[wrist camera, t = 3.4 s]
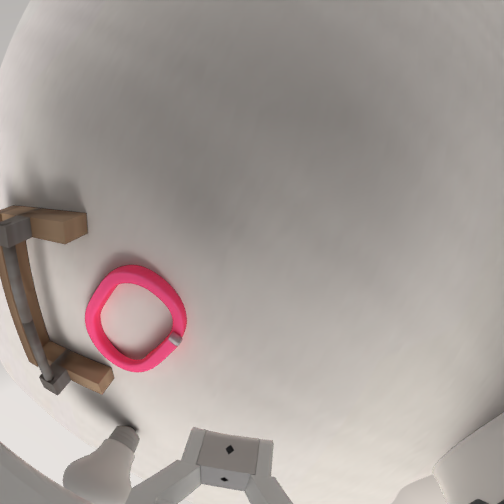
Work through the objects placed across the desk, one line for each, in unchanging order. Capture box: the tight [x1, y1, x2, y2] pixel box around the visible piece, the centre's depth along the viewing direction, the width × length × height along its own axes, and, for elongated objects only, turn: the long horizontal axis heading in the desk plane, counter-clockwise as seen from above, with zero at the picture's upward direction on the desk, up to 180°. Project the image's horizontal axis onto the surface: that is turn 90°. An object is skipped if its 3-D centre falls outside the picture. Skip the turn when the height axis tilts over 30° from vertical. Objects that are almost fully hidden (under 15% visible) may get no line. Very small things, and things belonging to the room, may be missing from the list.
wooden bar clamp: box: [0, 205, 114, 395], centre depth 15 cm, size 8×13×4 cm, turn 174°
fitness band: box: [85, 265, 187, 372], centre depth 16 cm, size 8×6×2 cm
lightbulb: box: [63, 426, 139, 504], centre depth 16 cm, size 6×6×11 cm
